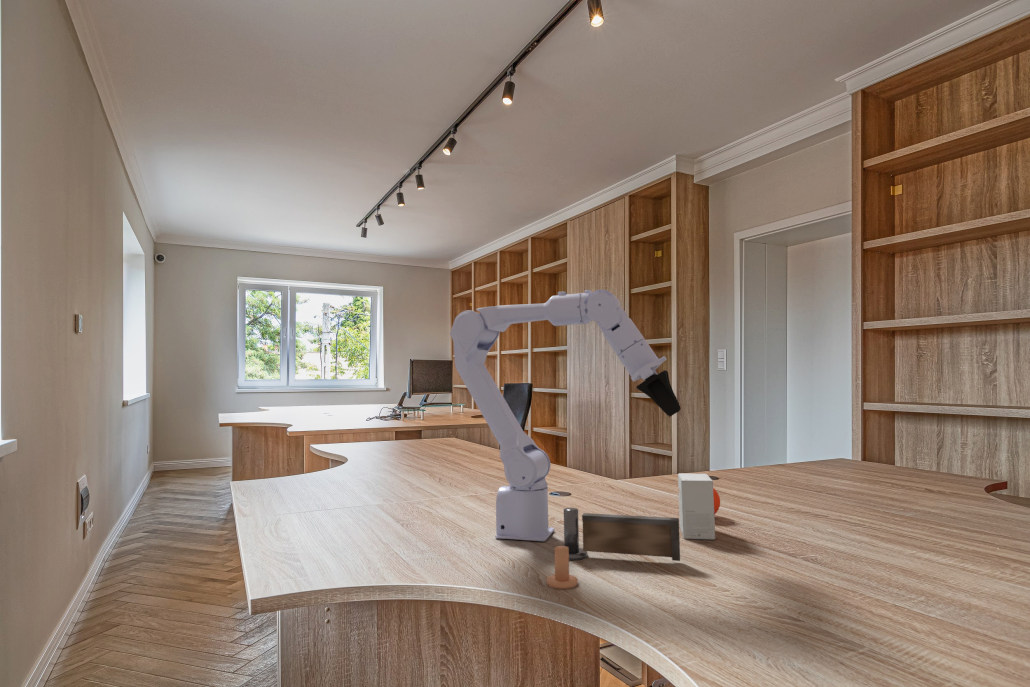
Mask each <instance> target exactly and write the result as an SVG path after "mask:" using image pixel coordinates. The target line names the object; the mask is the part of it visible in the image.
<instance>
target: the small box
mask: <svg viewBox="0 0 1030 687" xmlns="http://www.w3.org/2000/svg"><path fill="white" fill-rule="evenodd" d="M677 484H678V485H677V487H678V489H677V490H678V514H679V517H678V518H679V530H680V531H681V533H682V536H683V539H685V540H716V523H715V522H716V521H715V515H714V494H713V488H714V480H713V479H712V478H711V477H710V476H709V475H708V474H707V473H687V472H686V473H683V472H681V473H680V472H679V473H678V474H677Z"/></svg>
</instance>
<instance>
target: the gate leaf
mask: <svg viewBox="0 0 1030 687" xmlns="http://www.w3.org/2000/svg"><path fill="white" fill-rule="evenodd" d="M581 521H582V549H583V551H587V552H591V553H593V552H594V553H605V554H620V555H621V554H623V555H631V556H632V555H634V556H647V557H648V556H649V557H660V558H661V557H662V558H671V560H672V561H676V562H680V561H681V546H680V542H681V541H680V518H679V517H666V516H665V517H663V516H662V517H661V516H644V515H643V516H642V515H626V514H625V515H624V514H610V513H609V514H607V513H591V512H590V513H588V512H587V513H586V512H584V513H583V514H581Z"/></svg>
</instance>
